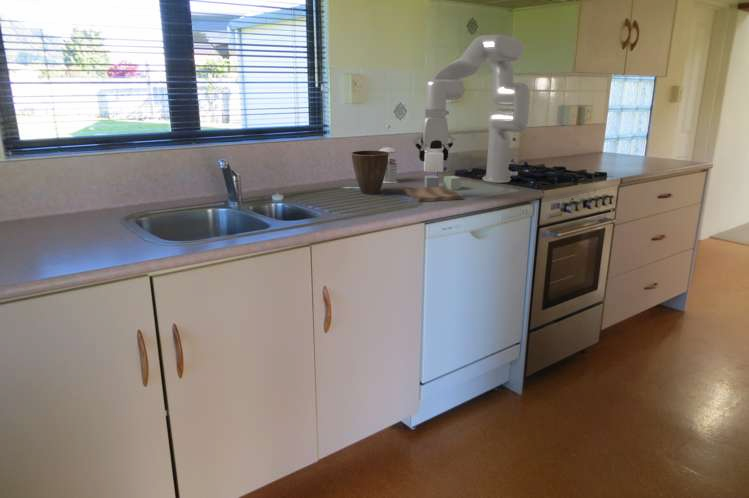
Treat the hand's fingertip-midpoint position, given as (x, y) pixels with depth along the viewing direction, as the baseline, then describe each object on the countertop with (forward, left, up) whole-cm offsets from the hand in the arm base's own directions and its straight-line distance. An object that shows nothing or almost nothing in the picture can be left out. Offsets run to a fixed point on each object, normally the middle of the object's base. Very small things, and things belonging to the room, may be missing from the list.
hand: (433, 160), depth 203 cm
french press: (+9, -32, -14) cm, 36 cm away
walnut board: (0, 0, -14) cm, 14 cm away
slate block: (-5, -14, -14) cm, 21 cm away
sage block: (-13, -11, -14) cm, 22 cm away
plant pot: (+22, -13, -14) cm, 29 cm away
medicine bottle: (0, 0, -4) cm, 4 cm away
